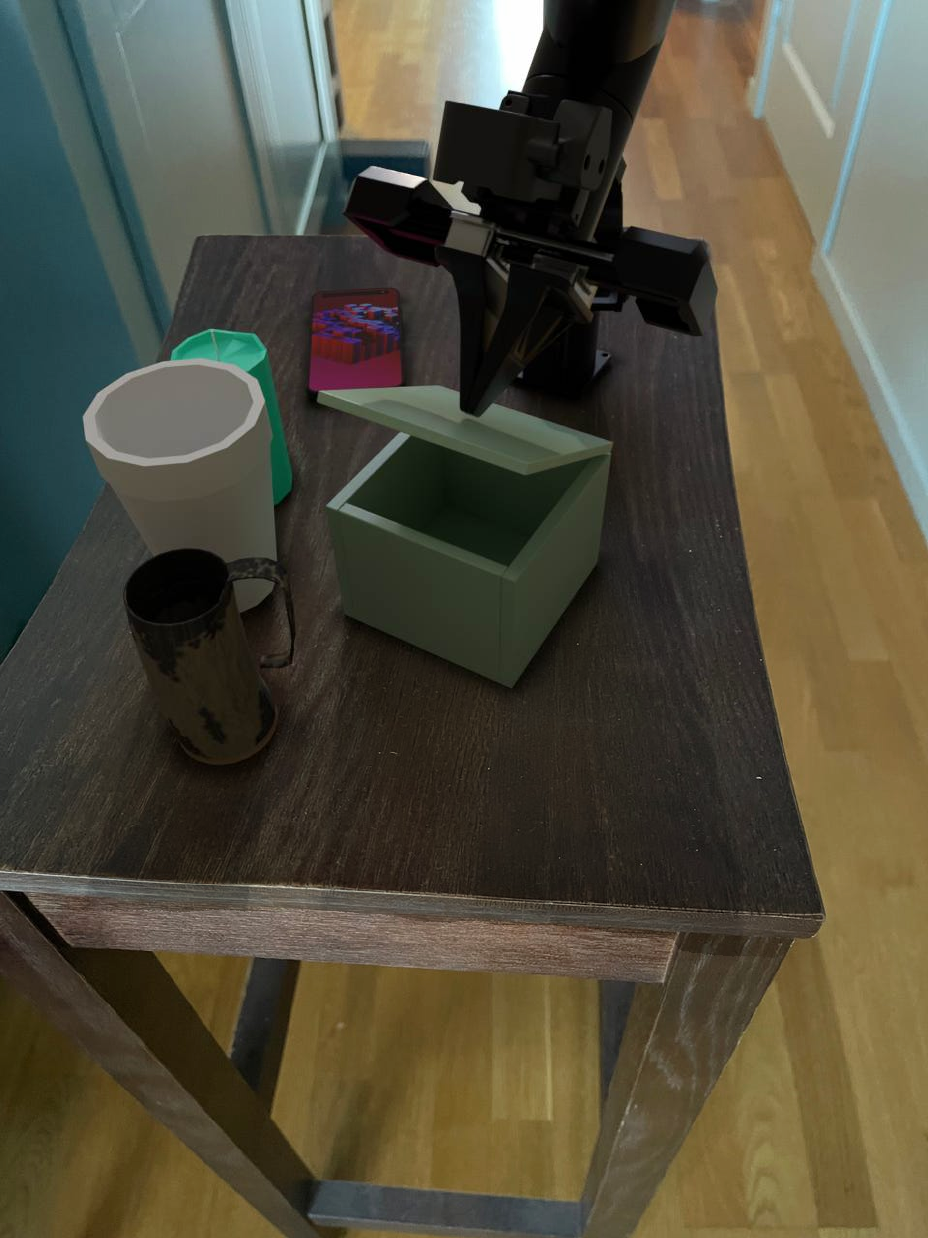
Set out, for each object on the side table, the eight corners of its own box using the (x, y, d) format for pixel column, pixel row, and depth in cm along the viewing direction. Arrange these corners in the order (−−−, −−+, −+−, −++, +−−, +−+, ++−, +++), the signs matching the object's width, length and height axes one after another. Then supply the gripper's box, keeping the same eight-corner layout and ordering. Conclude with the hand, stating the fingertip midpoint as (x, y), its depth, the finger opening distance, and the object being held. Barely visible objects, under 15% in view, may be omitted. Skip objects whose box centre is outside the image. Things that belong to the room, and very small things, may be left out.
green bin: (511, 689, 52) (515, 581, 45) (344, 614, 56) (324, 505, 49) (597, 562, 58) (611, 452, 52) (442, 503, 62) (436, 394, 56)
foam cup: (326, 547, 60) (294, 375, 50) (260, 651, 54) (209, 480, 44) (198, 516, 62) (144, 347, 52) (122, 614, 56) (45, 443, 46)
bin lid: (525, 476, 41) (528, 463, 41) (316, 402, 45) (318, 390, 45) (610, 452, 52) (613, 442, 51) (435, 394, 56) (437, 384, 55)
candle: (276, 518, 62) (240, 363, 53) (193, 508, 63) (144, 353, 54) (304, 462, 66) (275, 309, 57) (225, 453, 66) (184, 301, 57)
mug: (166, 768, 49) (94, 619, 40) (182, 685, 52) (119, 532, 43) (315, 760, 49) (276, 610, 40) (320, 678, 53) (286, 524, 44)
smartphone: (304, 393, 70) (310, 290, 79) (306, 403, 70) (312, 300, 80) (406, 387, 70) (399, 285, 80) (407, 397, 71) (400, 295, 80)
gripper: (340, -23, 41) (232, 319, 43) (750, 37, 34) (600, 437, 36) (438, 109, 51) (348, 379, 53) (767, 174, 45) (650, 479, 47)
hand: (469, 414), depth 47 cm, fingers closed
